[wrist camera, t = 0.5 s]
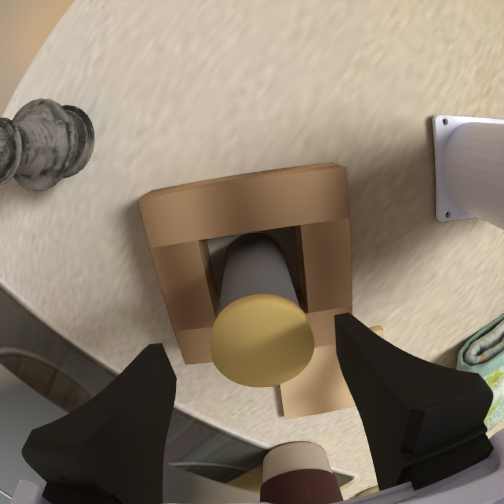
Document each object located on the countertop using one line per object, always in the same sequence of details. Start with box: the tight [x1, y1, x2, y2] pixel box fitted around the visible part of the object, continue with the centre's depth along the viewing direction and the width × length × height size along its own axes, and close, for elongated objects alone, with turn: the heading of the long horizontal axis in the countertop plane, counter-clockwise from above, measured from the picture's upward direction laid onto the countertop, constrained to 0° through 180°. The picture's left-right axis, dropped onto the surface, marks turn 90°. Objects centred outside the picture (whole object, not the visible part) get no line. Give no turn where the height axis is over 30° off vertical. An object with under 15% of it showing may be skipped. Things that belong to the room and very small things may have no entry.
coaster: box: [280, 326, 383, 419], centre depth 26 cm, size 9×9×1 cm
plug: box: [210, 233, 315, 387], centre depth 18 cm, size 4×4×10 cm
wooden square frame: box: [138, 163, 352, 364], centre depth 21 cm, size 12×12×3 cm
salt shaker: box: [0, 99, 94, 191], centre depth 13 cm, size 6×6×12 cm
